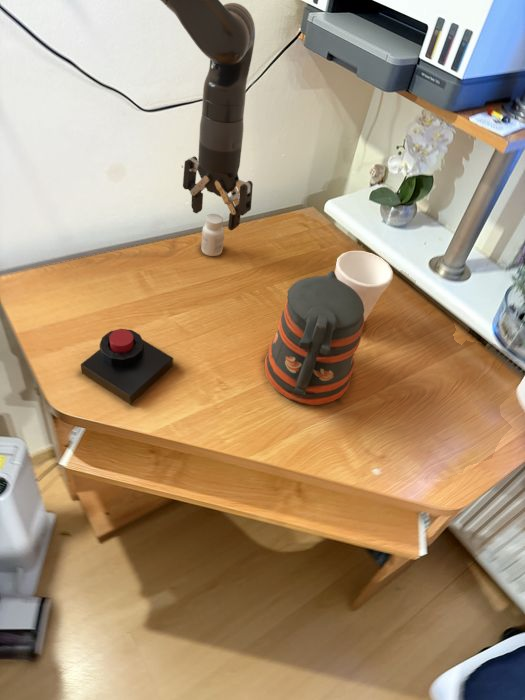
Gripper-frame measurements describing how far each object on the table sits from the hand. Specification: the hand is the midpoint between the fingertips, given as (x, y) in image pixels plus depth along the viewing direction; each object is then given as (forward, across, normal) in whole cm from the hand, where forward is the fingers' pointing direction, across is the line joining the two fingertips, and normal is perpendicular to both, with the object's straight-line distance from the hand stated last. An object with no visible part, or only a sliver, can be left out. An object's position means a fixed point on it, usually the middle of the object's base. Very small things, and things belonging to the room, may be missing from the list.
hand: (214, 219), depth 102 cm
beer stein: (+8, -33, +19) cm, 39 cm away
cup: (+8, -32, +1) cm, 33 cm away
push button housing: (+7, -9, +35) cm, 37 cm away
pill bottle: (+8, 0, 0) cm, 8 cm away
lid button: (+4, -7, +34) cm, 35 cm away
